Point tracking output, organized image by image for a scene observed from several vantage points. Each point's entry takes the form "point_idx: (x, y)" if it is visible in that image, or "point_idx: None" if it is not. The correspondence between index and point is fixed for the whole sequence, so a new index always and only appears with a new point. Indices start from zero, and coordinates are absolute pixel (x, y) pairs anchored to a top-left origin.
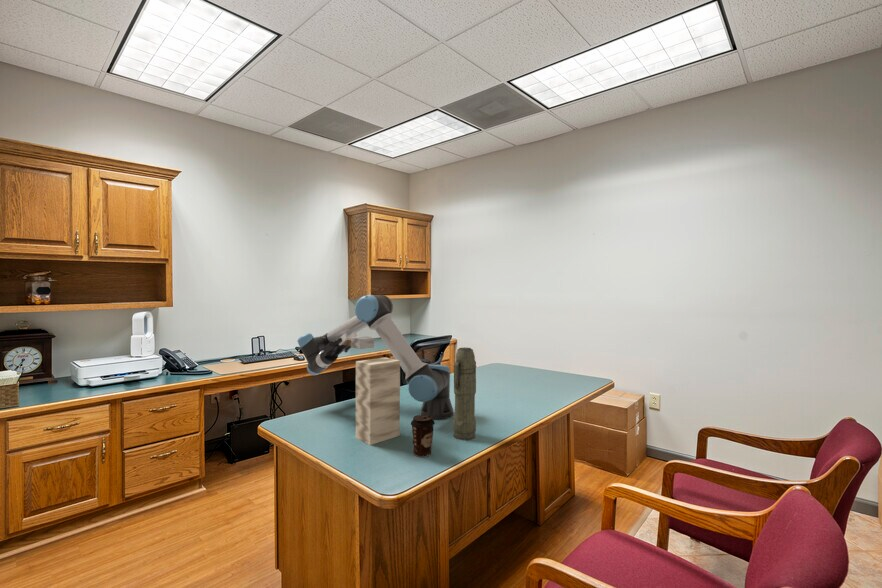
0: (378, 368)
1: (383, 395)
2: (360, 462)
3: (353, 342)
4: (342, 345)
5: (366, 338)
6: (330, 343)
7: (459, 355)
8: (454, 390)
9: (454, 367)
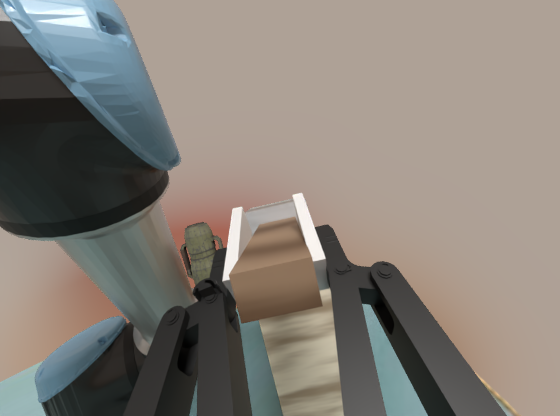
0: None
1: None
2: (378, 321)
3: None
4: (241, 409)
5: (277, 202)
6: (398, 294)
7: (209, 229)
8: None
9: (221, 242)
